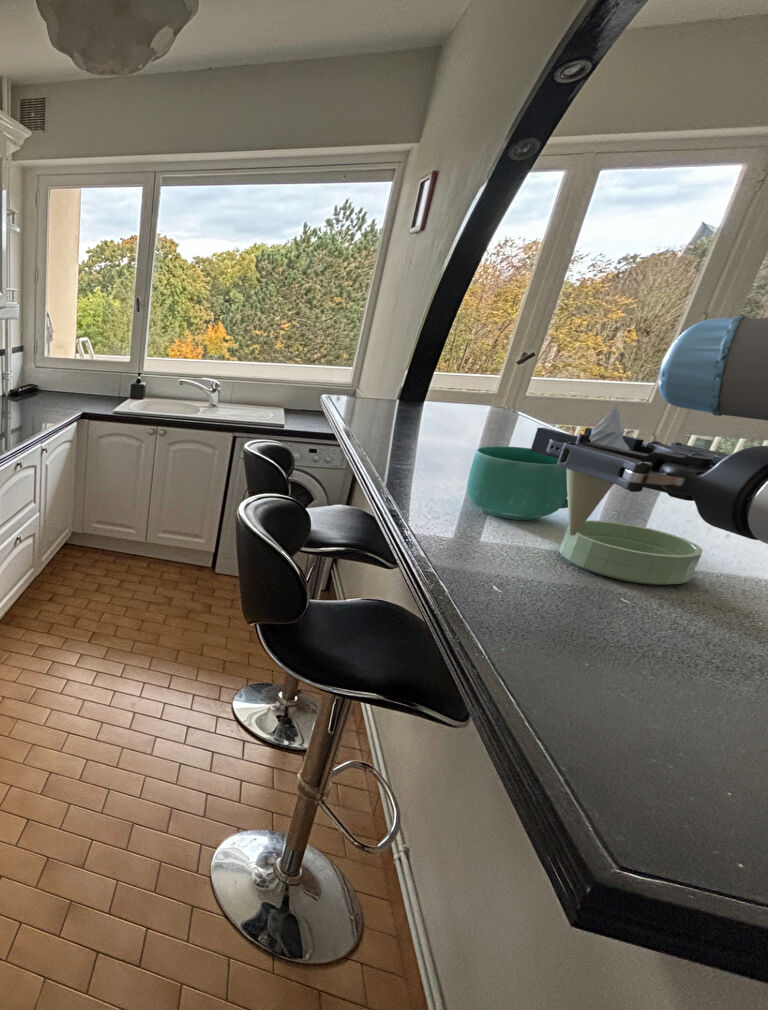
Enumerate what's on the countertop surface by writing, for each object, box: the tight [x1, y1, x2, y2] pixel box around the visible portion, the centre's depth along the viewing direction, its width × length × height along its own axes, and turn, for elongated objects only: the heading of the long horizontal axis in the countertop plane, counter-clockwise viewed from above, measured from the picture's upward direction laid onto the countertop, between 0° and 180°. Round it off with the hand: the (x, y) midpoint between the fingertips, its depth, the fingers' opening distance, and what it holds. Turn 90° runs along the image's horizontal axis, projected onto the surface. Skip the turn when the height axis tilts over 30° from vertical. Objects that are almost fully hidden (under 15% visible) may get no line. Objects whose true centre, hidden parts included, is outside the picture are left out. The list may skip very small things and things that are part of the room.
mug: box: [466, 445, 568, 521], centre depth 91 cm, size 17×13×10 cm
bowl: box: [559, 520, 704, 586], centre depth 74 cm, size 12×12×4 cm
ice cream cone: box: [567, 403, 630, 535], centre depth 65 cm, size 5×5×15 cm
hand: (561, 439), depth 69 cm, fingers closed on ice cream cone, 5 cm apart
